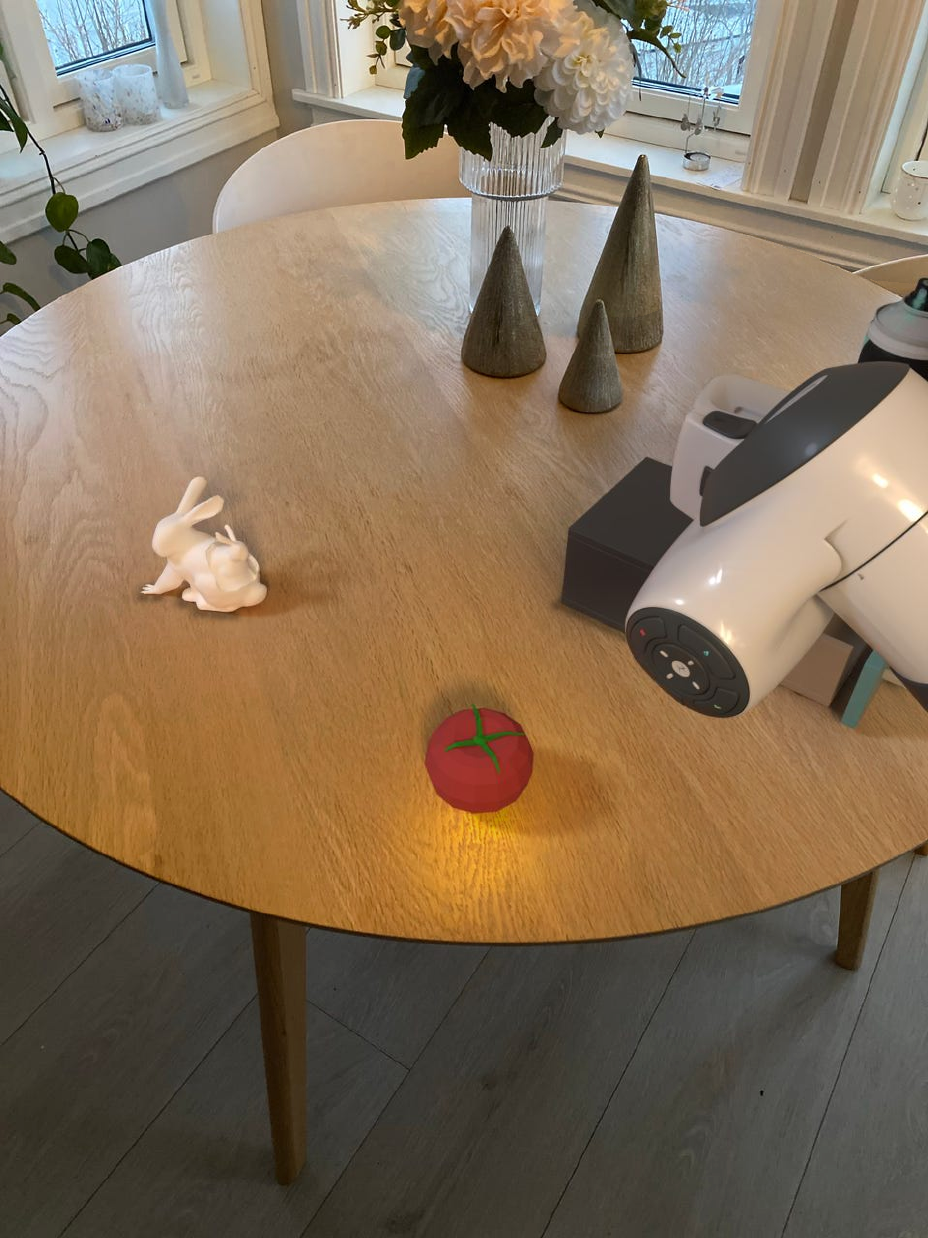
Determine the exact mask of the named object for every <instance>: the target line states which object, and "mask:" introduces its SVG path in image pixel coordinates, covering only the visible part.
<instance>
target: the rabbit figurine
mask: <svg viewBox="0 0 928 1238" xmlns="http://www.w3.org/2000/svg"><path fill="white" fill-rule="evenodd" d="M207 484H208V482H207V480H206V479H205V477H204V476H195V477H194V478H192V479H191V481H190V482H189V484H188V486H187V488H186V490H185V493H184V494H183V496H182V498H181V501H180V503H179V505H178V506H177V507H178V508H177V509H176V511H175V512H174V513H172V514H170V515H167V516H165V517H163V518H162V519H161V520H160V521H158V523H157V524H156V527H155V529H154V531H153V536H152V540H151V547H152V550H153V552H154V553H155V554H157V556H158V557H160V558H166V559H167V560H166V561H167V564H166V566H165V567H164V570H163V571H162V572H161V574H160V575H159V577H158V578H157V580H156V581H155V583H154V584H150V583H148V584H145V585H144V586H145V587H142V589H143V590H142V591H140V594H141V593H142V594H144V595H152V594H153V595H161V594H165V593H167V592H171V591H173V590H175V589H177V588H179V587H180V586H181V585H182V584H183V582H184V581H185V582H187V583H188V585H189V586H190V587H187V588H185V589H183V591H182V593H181V598H182V600H183V601H185V602H194V603H196V607H197V608H198V609H199V610H200V611H201V610H202V611H211V612H212V611H213V612H222V613H230V612H231V613H232V612H234V611H236V610H238V609H240V608H244V607H246V608H250V607H253V606H256V605H259V604H261V603H262V602H263V601H264V600H265V599H266V596H267V594H268V587H267V586H266V585H265V584H263V583H261V573H260V564H259V562H258V561H257V559H256V558H255V557H254V555H253V554H252V553H251V552H249V549H248V546H247V545H246V544H245V543H244V541H240V540H238V539H237V537H236V535H235V533H234V531H233V529H232V528H231V527H230V525H229V524H225V525H224V530H226V532H227V535H228V537H227V536H225V535H223V534H221V533H220V532H218V531H216V532H215V536H214V535H211V534H208V533H207V532H204V531H201V530H197V529H196V528H195V527H194V525H195V524H198V523H200V522H202V521H204V520H208V519H210V518H212V517H215V516H216V515H217V514H219V513H220V512H221V511H222V510H223V508H224V504H225V500H224V499H223V497H222V496H221V495H219V494H216V495H213V496H211V497H209V498H208V499H207V500H204V501H202V502H201V503H198V501H199V499H200V498H201V496H202V495H203V493H204V492H205V490H206V488H207ZM197 503H198V504H197Z"/></svg>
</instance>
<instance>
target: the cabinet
mask: <svg viewBox="0 0 928 1238" xmlns="http://www.w3.org/2000/svg"><path fill="white" fill-rule="evenodd" d="M672 466H673V465H669V464H667V463H665V462H662V461H659V460H657V459H654V458H652V457H649V456H645V457H644V458H643V459H642V460H641V461H640V462H638V463H637V464H636V465H635V466H634V467H633V468H632V469H631V470H630V471H629V472H628V473H627V474H626V475H624V476H623V477H622V478H621V479H620V480H619V481H618V482H617V483H616V484H615V485H614V486H612V487H611V488H610V489H609V490H608V491H607V492H606V493H605V494H604V495H602V497H600V498H599V499H598V500H597V501H596V502H595V503H594V504H593V505H591V507H590V508H588V510H586V511H585V512H584V513H583V514H582V515H581V516H580V517H579V518H577V520H576V521H574V522H573V523H572V524H571V525H570V526H568V528H567V538H566V548H565V559H564V567H563V578H562V589H561V598H560V603H561V604H563V605H565V606H567V607H569V608H571V609H573V610H575V611H577V612H578V613H579V612H580V613H582V614H584V615H585V616H588V617H590V618H592V619H594V620H596V621H598V622H600V623H602V624H604V625H606V626H608V627H611V628H612V629H615V630H617V631H619V632H621V633H623V634H625V635H626V633H625V621H626V617H627V614H628V611H629V609H630V607H631V605H632V603H633V601H634V599H635V598H636V596H637V594H638V592H639V590H640V589H641V587H642V586H643V584H644V583H645V581H646V580H647V578H648V576H649V575H650V573H651V572H652V570H653V569H654V568H655V566H656V565H657V563H658V562H659V561H660V559H661V558H662V557H663V555H664V554H665V553H666V552H667V550H668V549H669V548H670V546H671V545H672V544H673V543H674V542H675V541H676V539H677V538H678V537H679V536H680V535H681V534H682V533H683V531H684V530H685V529H686V528H687V527H688V526H689V525H690V524H691V523H692V522H693V521H694V520H693V519H692V518H691V517H689V516H688V515H686V514H685V513H683V512H682V511H681V510H679V509H678V508H677V507H675V506H674V505H673V504H672V502H671V501H670V485H671V474H672Z"/></svg>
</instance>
